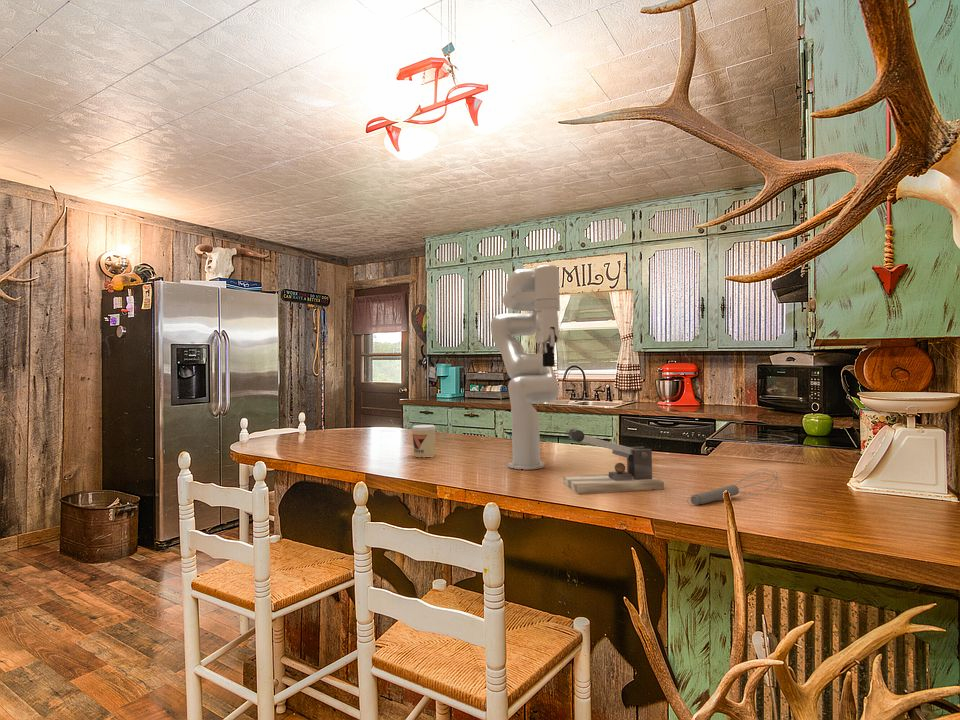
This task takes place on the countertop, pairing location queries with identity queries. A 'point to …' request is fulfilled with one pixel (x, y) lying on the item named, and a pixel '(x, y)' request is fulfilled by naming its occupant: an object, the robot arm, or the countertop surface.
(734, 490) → the kitchen whisk
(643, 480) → the nutcracker base
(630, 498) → the countertop surface
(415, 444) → the coffee cup
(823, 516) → the countertop surface
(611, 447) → the nutcracker lever
